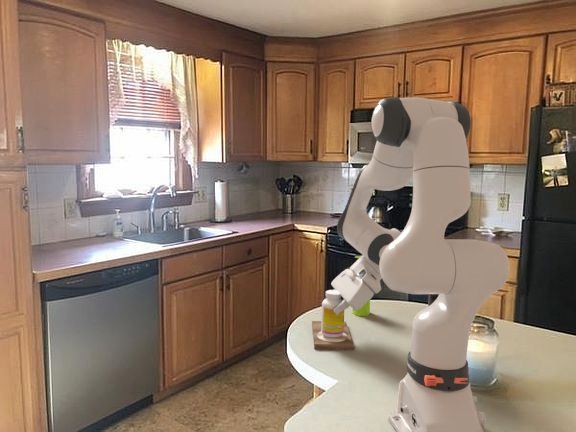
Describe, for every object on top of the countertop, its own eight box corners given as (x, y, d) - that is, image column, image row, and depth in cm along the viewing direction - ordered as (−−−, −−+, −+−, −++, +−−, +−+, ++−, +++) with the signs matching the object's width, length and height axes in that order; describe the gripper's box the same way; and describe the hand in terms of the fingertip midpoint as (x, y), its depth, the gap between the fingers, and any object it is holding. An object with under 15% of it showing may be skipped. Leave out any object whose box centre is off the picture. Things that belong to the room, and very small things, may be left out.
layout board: (353, 349, 133) (353, 328, 132) (314, 349, 133) (315, 327, 132) (345, 326, 151) (346, 306, 150) (311, 325, 151) (312, 306, 150)
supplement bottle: (346, 337, 136) (347, 295, 134) (323, 338, 135) (325, 295, 133) (340, 329, 142) (341, 288, 140) (318, 329, 141) (320, 289, 139)
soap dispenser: (361, 308, 168) (364, 254, 165) (372, 314, 162) (375, 258, 159) (347, 310, 165) (349, 255, 163) (358, 316, 159) (360, 259, 156)
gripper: (347, 259, 147) (316, 290, 147) (368, 276, 127) (332, 312, 127) (360, 272, 148) (329, 303, 148) (383, 291, 128) (348, 327, 128)
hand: (331, 307), depth 137 cm, fingers open, 7 cm apart
